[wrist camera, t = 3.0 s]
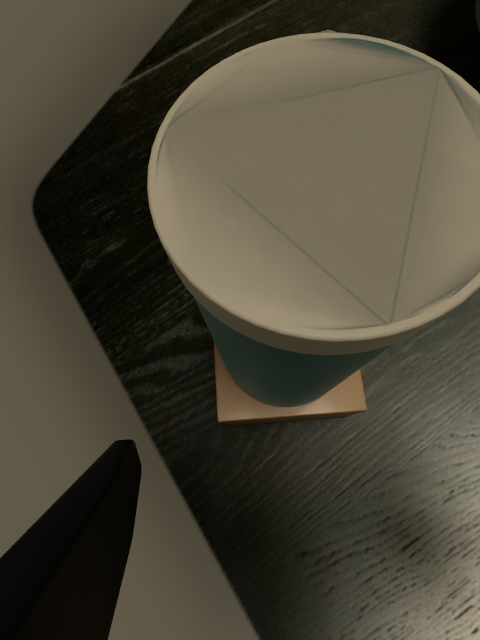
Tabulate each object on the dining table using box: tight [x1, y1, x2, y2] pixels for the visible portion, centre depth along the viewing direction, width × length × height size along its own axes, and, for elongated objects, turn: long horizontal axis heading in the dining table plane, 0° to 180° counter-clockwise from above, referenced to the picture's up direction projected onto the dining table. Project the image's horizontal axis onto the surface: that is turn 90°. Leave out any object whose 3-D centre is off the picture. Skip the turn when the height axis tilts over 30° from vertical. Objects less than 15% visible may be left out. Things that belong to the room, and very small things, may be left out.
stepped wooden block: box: [214, 342, 367, 426], centre depth 18 cm, size 8×8×9 cm
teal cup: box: [147, 33, 480, 407], centre depth 12 cm, size 6×6×12 cm
